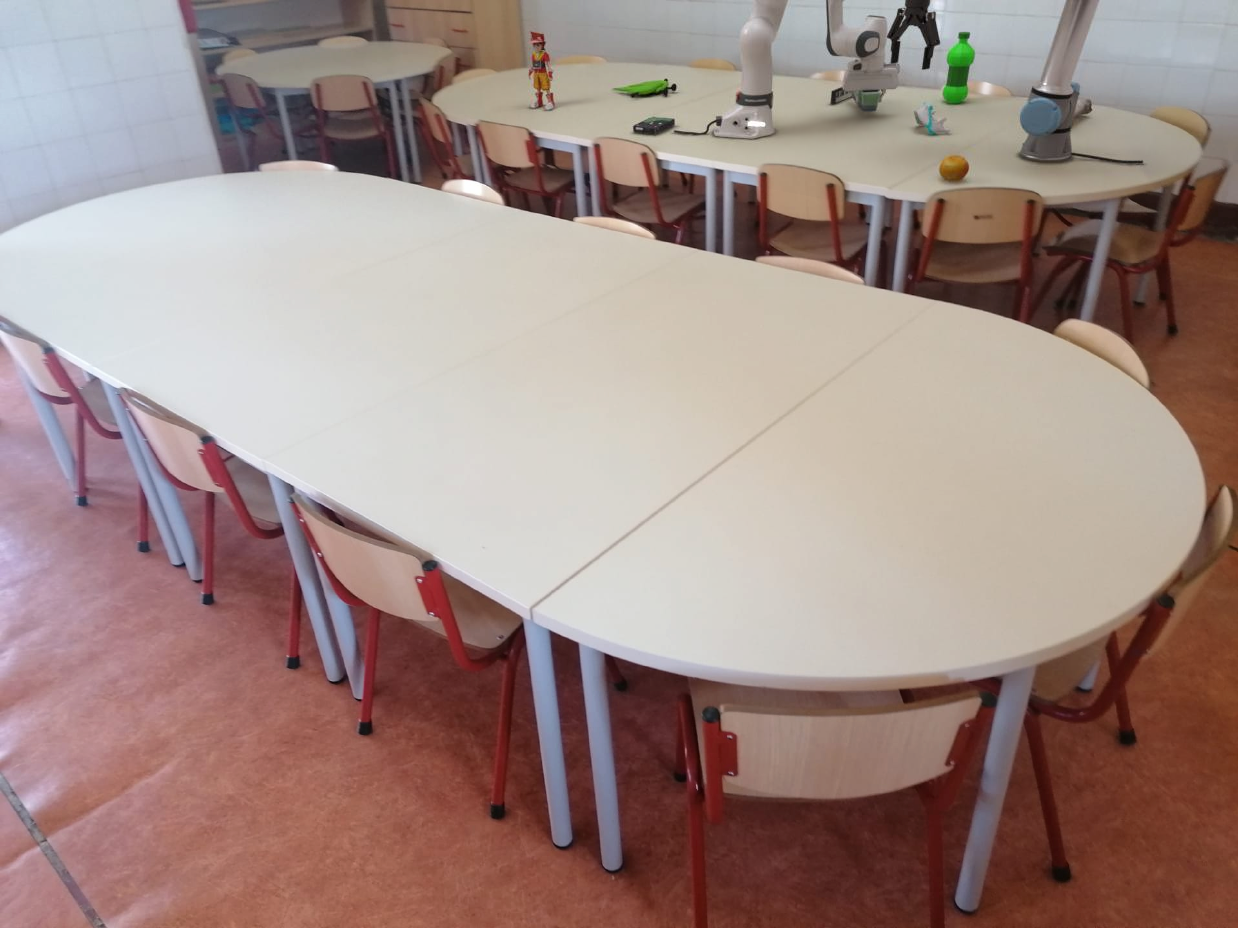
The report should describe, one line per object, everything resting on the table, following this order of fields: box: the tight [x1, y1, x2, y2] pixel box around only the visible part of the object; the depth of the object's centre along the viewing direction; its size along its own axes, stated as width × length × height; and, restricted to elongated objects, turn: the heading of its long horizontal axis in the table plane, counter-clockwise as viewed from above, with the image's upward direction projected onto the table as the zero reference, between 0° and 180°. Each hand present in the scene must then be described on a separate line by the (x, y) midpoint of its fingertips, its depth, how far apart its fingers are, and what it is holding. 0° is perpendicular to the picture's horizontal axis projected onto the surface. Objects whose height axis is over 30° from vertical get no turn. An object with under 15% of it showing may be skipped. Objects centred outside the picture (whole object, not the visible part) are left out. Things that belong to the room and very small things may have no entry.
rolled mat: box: [1073, 97, 1093, 121], centre depth 320 cm, size 30×9×10 cm
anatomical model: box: [913, 101, 951, 135], centre depth 322 cm, size 15×10×10 cm
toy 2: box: [612, 78, 677, 99], centre depth 396 cm, size 28×5×30 cm
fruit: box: [938, 154, 970, 182], centre depth 276 cm, size 8×8×8 cm
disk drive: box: [632, 116, 676, 136], centre depth 344 cm, size 10×3×15 cm
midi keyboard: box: [830, 86, 852, 105], centre depth 365 cm, size 18×1×5 cm, turn 138°
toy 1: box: [527, 31, 556, 111], centre depth 374 cm, size 12×9×30 cm
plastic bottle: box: [942, 31, 976, 104], centre depth 348 cm, size 10×10×25 cm
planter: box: [851, 90, 882, 113], centre depth 347 cm, size 28×7×7 cm, turn 177°
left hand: (868, 102), depth 340 cm, fingers closed on planter, 7 cm apart
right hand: (909, 66), depth 291 cm, fingers open, 13 cm apart
